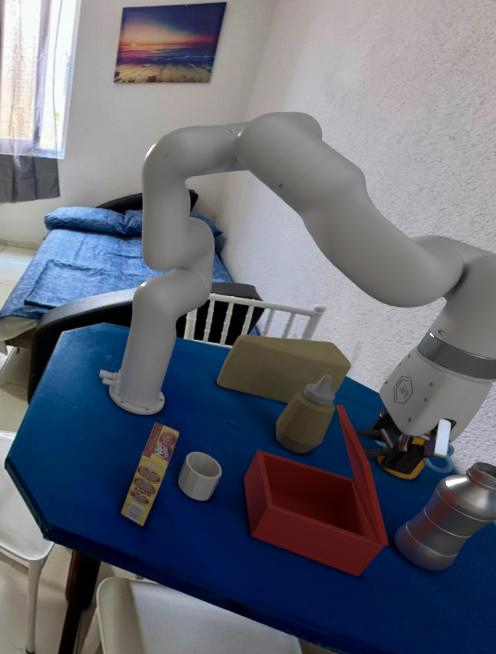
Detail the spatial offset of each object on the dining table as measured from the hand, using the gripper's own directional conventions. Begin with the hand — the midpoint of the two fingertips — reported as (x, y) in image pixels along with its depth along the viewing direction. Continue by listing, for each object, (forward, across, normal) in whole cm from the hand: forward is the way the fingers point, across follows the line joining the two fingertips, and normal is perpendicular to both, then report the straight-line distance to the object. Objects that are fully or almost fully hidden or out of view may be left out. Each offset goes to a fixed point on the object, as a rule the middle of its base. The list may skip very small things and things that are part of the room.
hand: (387, 453), depth 59 cm
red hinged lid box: (+20, 0, -5) cm, 20 cm away
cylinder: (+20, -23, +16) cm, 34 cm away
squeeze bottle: (+20, -21, -2) cm, 29 cm away
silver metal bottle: (+20, -2, +12) cm, 23 cm away
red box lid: (+5, 0, -2) cm, 5 cm away
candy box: (+20, +8, -30) cm, 37 cm away
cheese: (+20, -37, -5) cm, 42 cm away
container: (+20, 0, -21) cm, 29 cm away
